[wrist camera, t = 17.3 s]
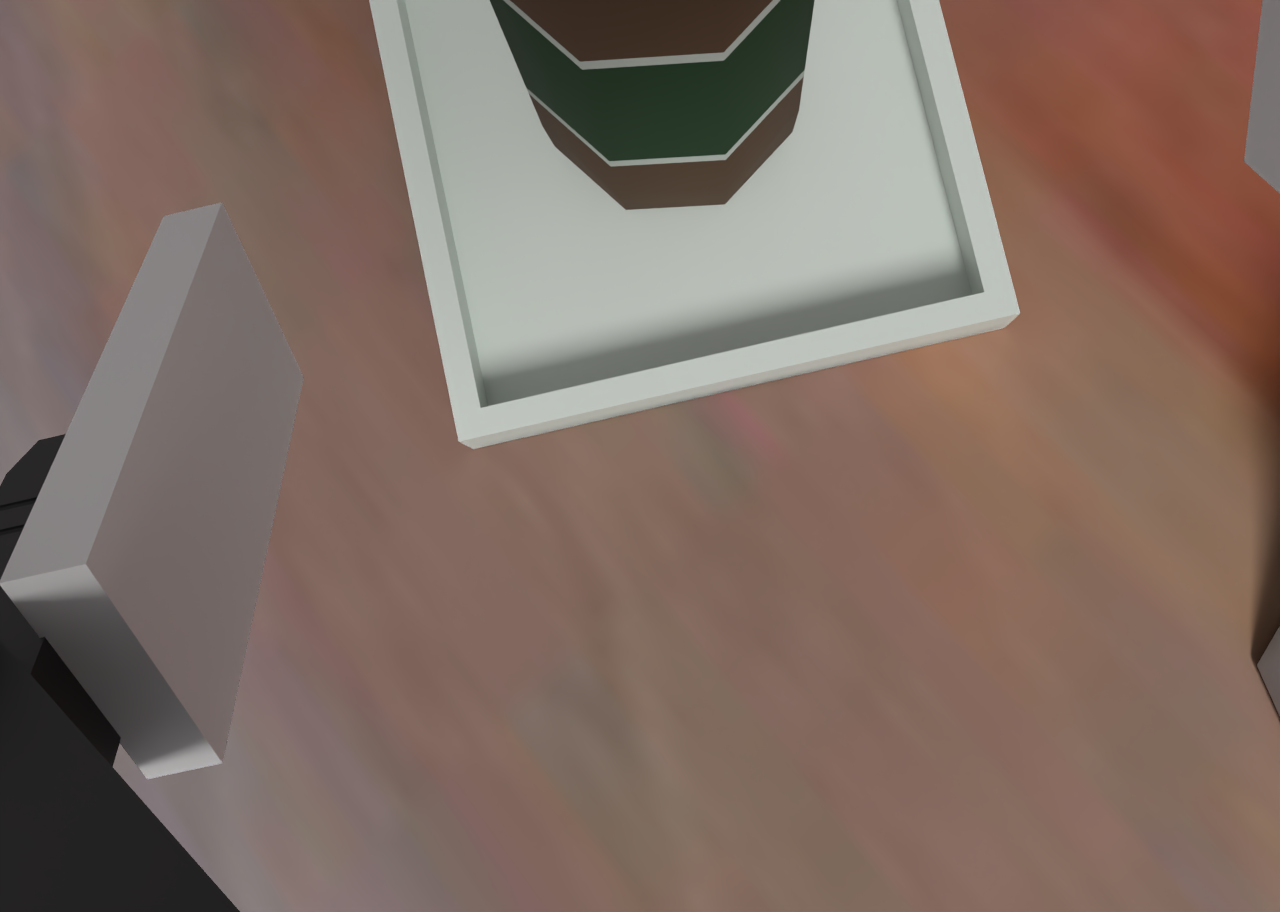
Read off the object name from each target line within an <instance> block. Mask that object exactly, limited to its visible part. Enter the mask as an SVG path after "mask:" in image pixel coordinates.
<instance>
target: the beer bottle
mask: <svg viewBox="0 0 1280 912" xmlns="http://www.w3.org/2000/svg"><path fill="white" fill-rule="evenodd" d="M814 1H815V0H490V3H491V5H492V7H493V10H494V12H495V14H496V17H497V19H498V22H499V24H500V26H501V29H502V31H503V34H504V36H505V38H506V41H507V43H508V45H509V48H510V50H511V53H512V55H513V57H514V60H515V62H516V64H517V67H518V69H519V72H520V74H521V76H522V79H523V81H524V84H525V86H526V88H527V91H528V93H529V95H530V98H531V100H532V103H533V105H534V107H535V110H536V112H537V115H538V117H539V119H540V122H541V124H542V126H543V128H544V130H545V131H546V133H547V135H548V136H549V138H550V139H551V141H552V143H553V144H554V146H555V147H556V148H557V149H558V150H559V151H560V152H562V153H563V154H564V155H565V156H566V157H567V158H568V159H569V160H571V161H572V162H573V163H574V164H575V165H576V166H577V167H578V168H579V169H581V170H582V171H583V172H584V173H585V174H586V175H587V176H588V177H590V178H591V179H592V180H593V181H594V182H595V183H596V184H597V185H599V186H600V187H601V188H602V189H603V190H604V191H605V192H606V193H607V194H609V195H610V196H611V197H612V198H613V199H614V200H615V201H616V202H618V203H619V204H620V205H621V206H622V207H623V208H624V209H625V210H634V209H652V208H670V207H688V206H706V205H724V204H726V203H727V202H728V201H729V200H730V198H731V197H732V196H733V195H734V194H735V193H736V192H737V191H738V190H739V189H740V188H741V187H742V186H743V185H744V183H745V182H746V181H747V180H748V179H749V178H750V177H751V176H752V175H753V174H754V173H755V172H756V171H757V170H758V169H759V167H760V166H761V165H762V164H763V163H764V162H765V161H766V160H767V159H768V158H769V157H770V156H771V155H772V154H773V152H774V151H775V150H776V149H777V148H778V147H779V146H780V145H781V144H782V143H783V142H784V141H785V140H786V139H787V137H788V136H789V135H790V134H791V133H792V132H793V129H794V125H795V122H796V119H797V115H798V112H799V107H800V100H801V93H802V86H803V79H804V71H805V64H806V57H807V50H808V43H809V36H810V29H811V22H812V15H813V8H814Z"/></svg>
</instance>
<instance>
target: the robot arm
mask: <svg viewBox="0 0 1280 912" xmlns="http://www.w3.org/2000/svg"><path fill="white" fill-rule="evenodd" d="M1244 162H1245V163H1246V164H1247V165H1249V166H1250V167H1251V168H1252V169H1253V170H1254V171H1255V172H1256V173H1257V174H1259V175H1260V176H1261V177H1262V178H1263V179H1264V180H1265V181H1266V182H1268V183H1269V184H1270V185H1271V186H1272V187H1273V188H1274V189H1275V190H1277V191H1278V192H1279V193H1280V0H1263V2H1262V11H1261V20H1260V28H1259V37H1258V46H1257V54H1256V63H1255V72H1254V80H1253V89H1252V98H1251V106H1250V115H1249V124H1248V132H1247V141H1246V150H1245V159H1244ZM303 378H304V377H303V375H302V373H301V371H300V368H299V366H298V364H297V362H296V360H295V358H294V356H293V353H292V351H291V349H290V347H289V345H288V343H287V341H286V338H285V336H284V334H283V332H282V330H281V328H280V326H279V323H278V321H277V319H276V317H275V315H274V313H273V311H272V308H271V306H270V304H269V302H268V300H267V298H266V296H265V293H264V291H263V289H262V287H261V285H260V283H259V281H258V278H257V276H256V274H255V272H254V270H253V268H252V266H251V263H250V261H249V259H248V257H247V255H246V253H245V251H244V248H243V246H242V244H241V242H240V240H239V238H238V236H237V233H236V231H235V229H234V227H233V225H232V223H231V220H230V218H229V216H228V214H227V212H226V210H225V208H224V205H223V203H222V202H221V203H217V204H213V205H209V206H204V207H200V208H196V209H192V210H188V211H183V212H179V213H175V214H171V215H167V216H164V217H163V219H162V221H161V224H160V226H159V228H158V230H157V232H156V235H155V237H154V239H153V241H152V244H151V246H150V248H149V250H148V252H147V255H146V257H145V259H144V261H143V264H142V266H141V268H140V270H139V272H138V275H137V277H136V279H135V281H134V284H133V286H132V288H131V290H130V292H129V295H128V297H127V299H126V301H125V304H124V306H123V308H122V310H121V312H120V315H119V317H118V319H117V321H116V324H115V326H114V328H113V330H112V333H111V335H110V337H109V339H108V341H107V344H106V346H105V348H104V350H103V353H102V355H101V357H100V359H99V361H98V364H97V366H96V368H95V370H94V373H93V375H92V377H91V379H90V381H89V384H88V386H87V388H86V390H85V393H84V395H83V397H82V399H81V401H80V404H79V406H78V408H77V410H76V413H75V415H74V417H73V419H72V421H71V424H70V426H69V428H68V430H67V433H66V434H64V435H60V436H55V437H51V438H47V439H42V440H39V441H38V442H37V443H36V444H35V445H34V446H33V447H32V448H31V449H30V450H29V451H28V452H27V453H26V454H25V455H24V456H23V457H22V458H21V459H20V460H19V462H18V463H17V464H16V465H15V466H14V467H13V468H12V469H11V470H10V471H9V472H8V473H7V474H6V476H5V478H4V480H3V482H2V484H1V486H0V912H240V911H239V910H238V909H237V908H236V907H235V906H234V904H233V903H232V902H231V901H230V900H229V899H228V898H227V897H226V895H225V894H224V893H223V892H222V891H221V890H220V889H219V887H218V886H217V885H216V884H215V883H214V882H213V881H212V880H211V878H210V877H209V876H208V875H207V874H206V873H205V872H204V870H203V869H202V868H201V867H200V866H199V865H198V864H197V863H196V861H195V860H194V859H193V858H192V857H191V856H190V855H189V853H188V852H187V851H186V850H185V849H184V848H183V847H182V846H181V844H180V843H179V842H178V841H177V840H176V839H175V838H174V836H173V835H172V834H171V833H170V832H169V831H168V830H167V829H166V827H165V826H164V825H163V824H162V823H161V822H160V821H159V819H158V818H157V817H156V816H155V815H154V814H153V813H152V812H151V810H150V809H149V808H148V807H147V806H146V805H145V804H144V802H143V801H142V800H141V799H140V798H139V797H138V796H137V795H136V793H135V792H134V791H133V790H132V789H131V788H130V787H129V785H128V784H127V783H126V782H125V781H124V780H123V779H122V778H121V776H120V775H119V774H118V773H117V772H116V771H115V770H114V768H113V763H114V760H115V756H116V753H117V750H118V746H119V743H120V744H121V745H122V747H123V748H124V749H125V750H126V752H127V753H128V754H129V756H130V757H131V758H132V760H133V761H134V762H135V764H136V765H137V766H138V768H139V769H140V770H141V772H142V773H143V774H144V775H145V777H146V778H147V779H151V778H155V777H160V776H165V775H169V774H174V773H179V772H184V771H188V770H193V769H198V768H202V767H207V766H212V765H216V764H221V763H223V758H224V753H225V749H226V744H227V739H228V734H229V730H230V725H231V720H232V715H233V711H234V706H235V701H236V696H237V692H238V687H239V682H240V677H241V673H242V668H243V663H244V658H245V654H246V649H247V644H248V639H249V635H250V630H251V625H252V620H253V616H254V611H255V606H256V601H257V597H258V592H259V587H260V582H261V578H262V573H263V568H264V563H265V559H266V554H267V549H268V544H269V539H270V535H271V530H272V525H273V520H274V516H275V511H276V506H277V501H278V497H279V492H280V487H281V482H282V478H283V473H284V468H285V463H286V459H287V454H288V449H289V444H290V440H291V435H292V430H293V425H294V421H295V416H296V411H297V406H298V402H299V397H300V392H301V387H302V383H303Z"/></svg>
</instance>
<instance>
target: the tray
mask: <svg viewBox="0 0 1280 912" xmlns="http://www.w3.org/2000/svg"><path fill="white" fill-rule="evenodd" d="M369 2H370V7H371V12H372V16H373V21H374V26H375V31H376V36H377V41H378V46H379V51H380V56H381V61H382V66H383V71H384V76H385V81H386V85H387V90H388V95H389V100H390V105H391V110H392V115H393V120H394V125H395V130H396V135H397V140H398V145H399V150H400V155H401V159H402V164H403V169H404V174H405V179H406V184H407V189H408V194H409V199H410V204H411V209H412V214H413V219H414V224H415V228H416V233H417V238H418V243H419V248H420V253H421V258H422V263H423V268H424V273H425V278H426V283H427V288H428V293H429V297H430V302H431V307H432V312H433V317H434V322H435V327H436V332H437V337H438V342H439V347H440V352H441V357H442V362H443V367H444V371H445V376H446V381H447V386H448V391H449V396H450V401H451V406H452V411H453V416H454V421H455V426H456V431H457V436H458V440H459V442H461V443H463V444H464V445H466V446H468V447H470V448H472V449H476V448H481V447H485V446H489V445H494V444H498V443H502V442H507V441H511V440H516V439H520V438H524V437H529V436H533V435H538V434H542V433H546V432H551V431H555V430H559V429H564V428H568V427H573V426H577V425H581V424H586V423H590V422H595V421H599V420H603V419H608V418H612V417H616V416H621V415H625V414H630V413H634V412H638V411H643V410H647V409H652V408H656V407H660V406H665V405H669V404H673V403H678V402H682V401H687V400H691V399H695V398H700V397H704V396H709V395H713V394H717V393H722V392H726V391H730V390H735V389H739V388H744V387H748V386H752V385H757V384H761V383H766V382H770V381H774V380H779V379H783V378H787V377H792V376H796V375H801V374H805V373H809V372H814V371H818V370H823V369H827V368H831V367H836V366H840V365H845V364H849V363H853V362H858V361H862V360H866V359H871V358H875V357H880V356H884V355H888V354H893V353H897V352H902V351H906V350H910V349H915V348H919V347H923V346H928V345H932V344H937V343H941V342H945V341H950V340H954V339H959V338H963V337H967V336H972V335H976V334H980V333H985V332H989V331H994V330H998V329H1002V328H1005V327H1006V326H1007V325H1008V324H1009V323H1010V322H1011V321H1012V320H1014V319H1015V318H1016V317H1017V316H1018V315H1019V314H1020V310H1019V307H1018V303H1017V299H1016V295H1015V291H1014V287H1013V284H1012V280H1011V276H1010V272H1009V268H1008V264H1007V260H1006V257H1005V253H1004V249H1003V245H1002V241H1001V237H1000V234H999V230H998V226H997V222H996V218H995V214H994V210H993V207H992V203H991V199H990V195H989V191H988V187H987V184H986V180H985V176H984V172H983V168H982V164H981V160H980V157H979V153H978V149H977V145H976V141H975V137H974V134H973V130H972V126H971V122H970V118H969V114H968V110H967V107H966V103H965V99H964V95H963V91H962V87H961V83H960V80H959V76H958V72H957V68H956V64H955V60H954V57H953V53H952V49H951V45H950V41H949V37H948V33H947V30H946V26H945V22H944V18H943V14H942V10H941V7H940V3H939V0H815V1H814V8H813V15H812V22H811V29H810V36H809V43H808V50H807V57H806V64H805V71H804V79H803V86H802V93H801V100H800V107H799V112H798V115H797V119H796V122H795V125H794V129H793V132H792V133H791V134H790V135H789V136H788V137H787V139H786V140H785V141H784V142H783V143H782V144H781V145H780V146H779V147H778V148H777V149H776V150H775V151H774V152H773V154H772V155H771V156H770V157H769V158H768V159H767V160H766V161H765V162H764V163H763V164H762V165H761V166H760V167H759V169H758V170H757V171H756V172H755V173H754V174H753V175H752V176H751V177H750V178H749V179H748V180H747V181H746V182H745V183H744V185H743V186H742V187H741V188H740V189H739V190H738V191H737V192H736V193H735V194H734V195H733V196H732V197H731V198H730V200H729V201H728V202H727V203H726V204H724V205H706V206H688V207H670V208H652V209H634V210H625V209H624V208H623V207H622V206H621V205H620V204H619V203H618V202H616V201H615V200H614V199H613V198H612V197H611V196H610V195H609V194H607V193H606V192H605V191H604V190H603V189H602V188H601V187H600V186H599V185H597V184H596V183H595V182H594V181H593V180H592V179H591V178H590V177H588V176H587V175H586V174H585V173H584V172H583V171H582V170H581V169H579V168H578V167H577V166H576V165H575V164H574V163H573V162H572V161H571V160H569V159H568V158H567V157H566V156H565V155H564V154H563V153H562V152H560V151H559V150H558V149H557V148H556V147H555V146H554V144H553V143H552V141H551V139H550V138H549V136H548V135H547V133H546V131H545V130H544V128H543V126H542V124H541V122H540V119H539V117H538V115H537V112H536V110H535V107H534V105H533V103H532V100H531V98H530V95H529V93H528V91H527V88H526V86H525V84H524V81H523V79H522V76H521V74H520V72H519V69H518V67H517V64H516V62H515V60H514V57H513V55H512V53H511V50H510V48H509V45H508V43H507V41H506V38H505V36H504V34H503V31H502V29H501V26H500V24H499V22H498V19H497V17H496V14H495V12H494V10H493V7H492V5H491V3H490V0H369Z"/></svg>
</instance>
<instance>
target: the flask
mask: <svg viewBox="0 0 1280 912" xmlns="http://www.w3.org/2000/svg"><path fill="white" fill-rule="evenodd" d="M1257 667H1258V669H1259V671H1260V674H1261V676H1262V678H1263V680H1264V682H1265V685H1266V687H1267V689H1268V691H1269V694H1270V696H1271V698H1272V700H1273V702H1274V705H1275V707H1276V709H1277V711H1278V714H1279V716H1280V626H1279V628H1278V630H1277V631H1276V633H1275V635H1274V637H1273V638H1272V640H1271V642H1270V643H1269V645H1268V647H1267V649H1266V650H1265V652H1264V654H1263V655H1262V657H1261V659H1260V661H1259V662H1258V664H1257Z"/></svg>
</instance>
